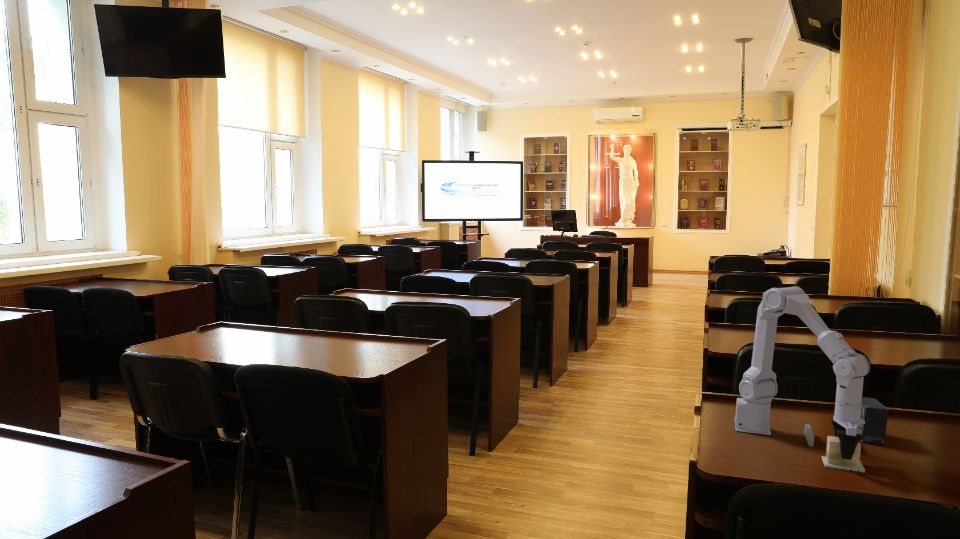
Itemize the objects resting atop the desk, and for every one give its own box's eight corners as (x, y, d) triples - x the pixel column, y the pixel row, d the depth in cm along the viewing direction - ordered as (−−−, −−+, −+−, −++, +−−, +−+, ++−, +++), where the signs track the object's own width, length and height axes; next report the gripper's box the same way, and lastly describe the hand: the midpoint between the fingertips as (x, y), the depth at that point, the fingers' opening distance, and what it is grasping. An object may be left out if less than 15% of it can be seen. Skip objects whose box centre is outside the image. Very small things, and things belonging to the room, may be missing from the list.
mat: (824, 466, 169) (825, 464, 169) (821, 458, 174) (821, 455, 174) (864, 472, 166) (865, 470, 166) (860, 463, 171) (860, 461, 171)
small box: (886, 445, 184) (890, 408, 183) (861, 443, 185) (864, 406, 184) (872, 431, 194) (875, 397, 193) (848, 429, 196) (851, 395, 194)
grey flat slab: (808, 445, 182) (809, 436, 182) (804, 433, 192) (805, 424, 191) (855, 452, 179) (856, 442, 178) (848, 439, 188) (849, 429, 188)
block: (828, 463, 169) (829, 441, 168) (825, 457, 173) (827, 435, 172) (859, 467, 167) (861, 445, 166) (855, 461, 171) (857, 439, 170)
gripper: (872, 412, 160) (867, 466, 161) (860, 395, 173) (856, 445, 175) (839, 409, 162) (834, 462, 164) (830, 392, 176) (826, 441, 177)
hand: (843, 453), depth 170 cm, fingers open, 7 cm apart
